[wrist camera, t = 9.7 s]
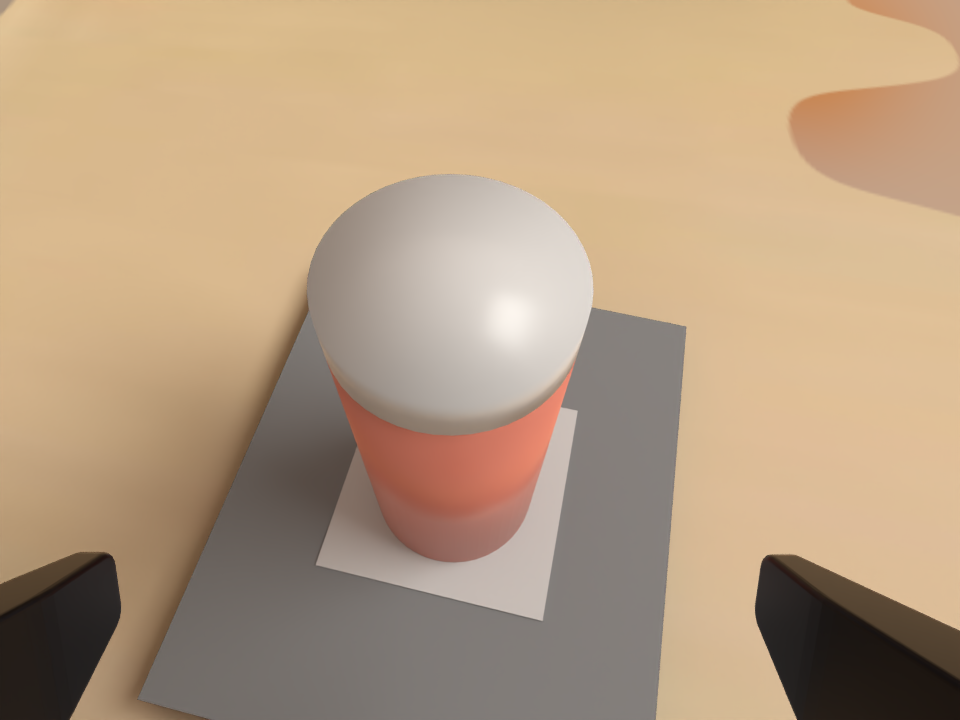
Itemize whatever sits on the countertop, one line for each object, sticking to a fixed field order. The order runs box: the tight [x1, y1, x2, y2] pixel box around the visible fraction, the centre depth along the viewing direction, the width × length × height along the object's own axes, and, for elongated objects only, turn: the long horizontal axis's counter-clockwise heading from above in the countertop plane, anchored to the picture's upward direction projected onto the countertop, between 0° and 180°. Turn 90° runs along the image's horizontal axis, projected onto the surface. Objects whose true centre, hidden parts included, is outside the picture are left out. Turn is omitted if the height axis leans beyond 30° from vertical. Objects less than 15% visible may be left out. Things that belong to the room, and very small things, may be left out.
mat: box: [137, 308, 686, 720], centre depth 21 cm, size 16×14×1 cm
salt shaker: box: [307, 174, 593, 562], centre depth 16 cm, size 5×5×11 cm
